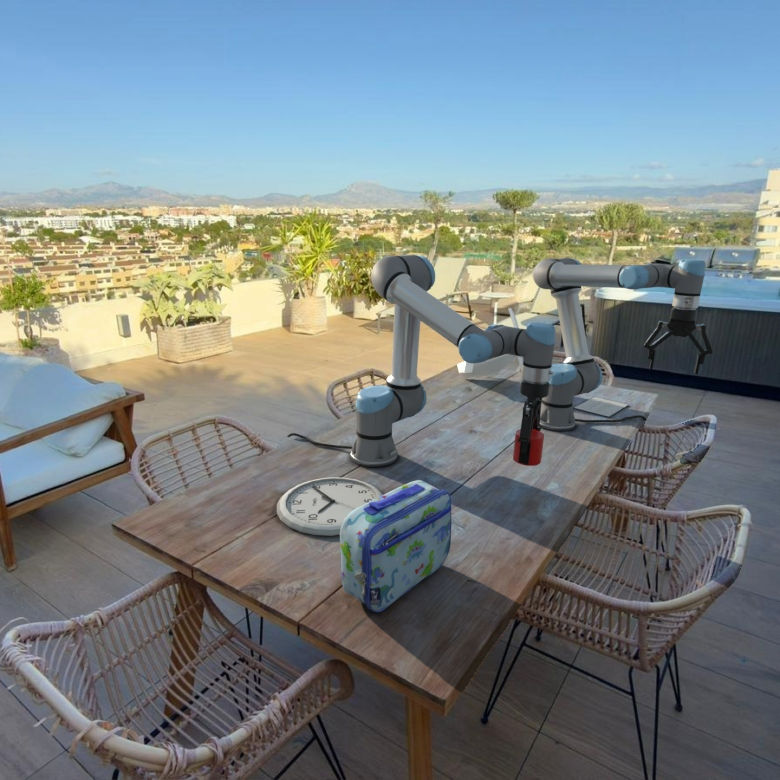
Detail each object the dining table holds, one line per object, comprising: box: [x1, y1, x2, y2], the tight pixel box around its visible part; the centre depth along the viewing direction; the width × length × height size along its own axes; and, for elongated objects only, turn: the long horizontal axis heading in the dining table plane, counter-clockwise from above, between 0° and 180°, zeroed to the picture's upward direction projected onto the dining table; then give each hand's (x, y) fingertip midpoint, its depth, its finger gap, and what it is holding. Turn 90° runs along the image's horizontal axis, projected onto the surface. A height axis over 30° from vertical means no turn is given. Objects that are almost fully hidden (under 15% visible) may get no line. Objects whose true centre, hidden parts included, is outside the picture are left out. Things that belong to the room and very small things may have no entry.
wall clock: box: [276, 476, 385, 537], centre depth 142 cm, size 30×2×30 cm
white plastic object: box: [456, 307, 523, 379], centre depth 256 cm, size 37×45×31 cm
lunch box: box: [339, 479, 452, 613], centre depth 109 cm, size 26×11×21 cm, turn 134°
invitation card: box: [573, 396, 629, 418], centre depth 226 cm, size 21×1×15 cm
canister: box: [512, 428, 545, 467], centre depth 148 cm, size 8×8×8 cm
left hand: (526, 457), depth 149 cm, fingers closed on canister, 8 cm apart
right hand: (673, 371), depth 177 cm, fingers open, 13 cm apart
